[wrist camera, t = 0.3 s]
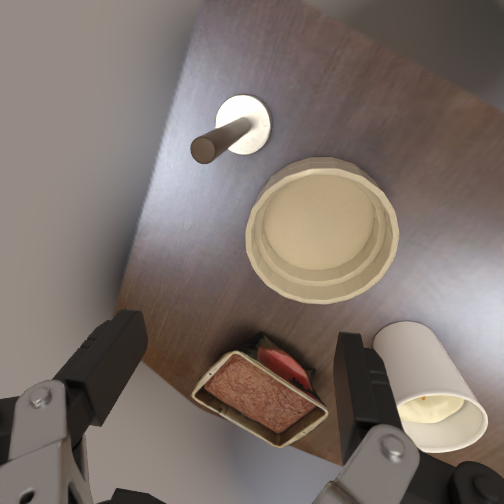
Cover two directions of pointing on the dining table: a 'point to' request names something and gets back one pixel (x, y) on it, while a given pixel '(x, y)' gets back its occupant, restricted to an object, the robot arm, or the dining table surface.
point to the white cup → (429, 389)
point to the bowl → (321, 231)
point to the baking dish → (263, 392)
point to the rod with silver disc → (235, 129)
